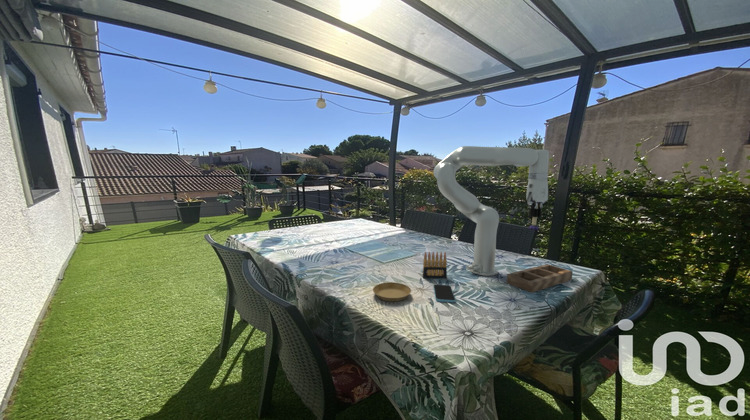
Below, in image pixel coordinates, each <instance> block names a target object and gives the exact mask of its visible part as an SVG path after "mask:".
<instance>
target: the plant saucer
mask: <svg viewBox="0 0 750 420" xmlns="http://www.w3.org/2000/svg"><path fill="white" fill-rule="evenodd" d="M372 291H373V293H374V294H375V295H376V297H377V298H379V299H380V300H383V301H385V302H390V303H391V302H392V303H393V302H400V301H403V300H405V299H406V298H408V297H409V295H410V294H411V293H412V288H411V287H410V286H408V285H406V284H404V283H400V282H395V281H394V282H393V281H390V282H382V283H378V284H376V285H375V286H373V287H372Z"/></svg>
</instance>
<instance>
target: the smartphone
mask: <svg viewBox="0 0 750 420" xmlns="http://www.w3.org/2000/svg"><path fill="white" fill-rule="evenodd" d="M432 287H433V291H434V292H433V294H434V298H435V301H436V302H442V303H456V300H457V299H456V297H455V295H454V292H453V289H452V286H451V285H447V284H433V286H432Z"/></svg>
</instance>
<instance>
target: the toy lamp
mask: <svg viewBox="0 0 750 420" xmlns="http://www.w3.org/2000/svg"><path fill="white" fill-rule="evenodd" d="M532 202H535V201H533V200H532ZM538 203H542V202H537V209H538ZM534 204H535V203H534ZM537 219H538V217H532V221H531V222H532V223H531V225H529V226H528V229H529V230H531V231H539V230H540V227H539V226H538V225H537V221H538V220H537Z"/></svg>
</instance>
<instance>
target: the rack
mask: <svg viewBox="0 0 750 420" xmlns="http://www.w3.org/2000/svg"><path fill="white" fill-rule="evenodd" d="M572 280H573V271H572V270H569V269H566V268H562V267H559V266H555V265H551V264H549V263H548V264H547V263H546V264H542V265H539V266H534V267H530V268H526V269H522V270H518V271H515V272H510V273H507V274H506V284H509V285H511V286H514V287H515V288H517V289H521V290H524V291H527V292H529V293H535V292H538V291H542V290H545V289H548V288H550V287H554V286H556V285H560V284H563V283H566V282H568V281H572Z"/></svg>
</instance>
